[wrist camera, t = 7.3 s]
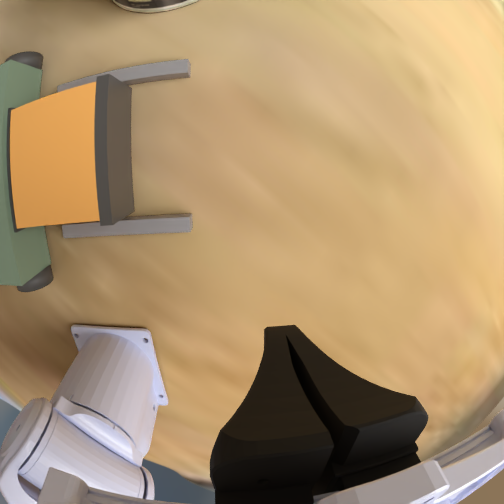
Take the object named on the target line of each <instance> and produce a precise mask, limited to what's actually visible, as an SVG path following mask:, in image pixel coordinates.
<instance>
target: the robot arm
mask: <svg viewBox="0 0 504 504" xmlns="http://www.w3.org/2000/svg"><path fill="white" fill-rule="evenodd" d="M71 332H72V335H73V338H74V341H75V343H76V346H77V348H78V351H79V353H78V354H77V356H76V358H75V359H74V361H73V362H72V364H71V366H70V367H69V369H68V371H67V372H66V374H65V376H64V377H63V379H62V381H61V383H60V384H59V386H58V388H57V390H56V391H55V393H54V395H53V397H52V399H51V400H50V402H49V401H48V400H47V399H46V398H40V399H32V400H31V401H30V402H29V403H28V404H27V405H26V406H25V407H24V408H23V409H22V411H21V412H20V413H19V415H18V416H17V418H16V419H15V421H14V422H13V424H12V425H11V427H10V429H9V431H8V433H7V434H6V437H5V439H4V441H3V444H2V447H1V449H0V491H1V493H2V495H3V496H4V498H5V500H6V501H7V503H8V504H185V503H173V502H164V501H155V500H154V483H153V479H152V476H151V474H150V473H149V471H148V470H147V469H146V468H144V467H143V466H141V465H142V460H143V457H144V456H145V455H146V454H147V452H148V450H149V448H150V444H151V439H152V434H153V429H154V424H155V419H156V414H157V410H158V405H167V404H168V398H167V394H166V391H165V387H164V384H163V380H162V377H161V373H160V369H159V365H158V362H157V358H156V354H155V349H154V345H153V341H152V337H151V333H150V331H149V330H147V329H144V328H119V327H102V326H88V325H72V327H71ZM77 334H78V335H79V336H78V335H77ZM144 338H146V339H148V340H145V339H144ZM160 394H161V395H160ZM427 421H428V415H427V413H426V411H425V409H424V408H423V406H422V405H421V403H420V402H419V401H418V399H417V398H416V397H414V396H410V395H406V394H402V393H398V392H395V391H392V390H389V389H386V388H383V387H380V386H378V385H376V384H373V383H371V382H369V381H367V380H365V379H363V378H361V377H359V376H357V375H355V374H353V373H352V372H350V371H348V370H347V369H345V368H344V367H342V366H341V365H339V364H338V363H336V362H335V361H334V360H332V359H331V358H330V357H328V356H327V355H326V354H325V353H324V352H322V351H321V350H320V349H319V348H318V347H317V346H316V345H315V344H314V343H313V342H312V341H311V340H310V339H308V338H307V337H306V336H305V334H304V333H303V332H302V331H301V330H300V329H299V328H298V327H297V326H296V325H288V326H275V327H267V328H265V329H264V352H263V357H262V360H261V363H260V367H259V370H258V372H257V375H256V377H255V380H254V382H253V384H252V386H251V388H250V390H249V392H248V394H247V396H246V397H245V399H244V401H243V402H242V404H241V405H240V406H239V408H238V409H237V411H236V412H235V414H234V415H233V416H232V418H231V419H230V420H229V421H228V422H227V423H226V425H225V426H224V427H223V428H222V429H221V430H220V432H219V435H218V437H217V440H216V442H215V445H214V447H213V450H212V454H211V459H210V478H211V480H212V483H213V486H214V489H215V504H456V503H458V502H459V501H461V500H462V499H464V498H465V497H467V496H468V495H469V494H471V493H472V492H474V491H475V490H477V489H478V488H479V487H481V486H482V485H483V484H485V483H486V482H487V481H488V480H490V479H491V478H492V477H494V476H495V475H496V474H497V473H498V472H499V471H501V470H502V469H503V468H504V408H503V409H502V410H500V411H499V412H498V413H497V414H496V415H495V416H494V418H493V419H492V420H491V422H490V423H489V425H488V426H486V427H485V428H483V429H481V430H480V431H478V432H477V433H475V434H473V435H472V436H470V437H468V438H467V439H465V440H463V441H462V442H460V443H458V444H456V445H454V446H453V447H451V448H449V449H447V450H445V451H443V452H441V453H439V454H437V455H435V456H433V457H431V458H429V459H427V460H425V461H422V462H421V461H420V459H419V458H418V456H417V454H416V452H417V451H418V446H417V445H416V443H415V441H416V440H417V438H418V437H419V435H420V434H421V432H422V431H423V429H424V428H425V426H426V424H427Z"/></svg>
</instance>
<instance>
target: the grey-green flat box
mask: <svg viewBox="0 0 504 504" xmlns="http://www.w3.org/2000/svg"><path fill="white" fill-rule="evenodd" d="M42 61H43V55H42V54H40V53H37V52H21V53H17V54H15V55H12V56H10V57H9V58H7V59H6V61H5V63H3V64H1V65H0V285H14V286H17V289H18V290H19V291H21V292H31V291H35V290H38V289H41V288H43V287H45V286H47V285H48V284H50V283H51V282H52V281H53V274H52V269H51V265H50V264H51V259H50V254H49V249H48V244H47V239H46V233H45V227H44V226H36V227H27V228H18V229H17V226H16V219H15V212H14V204H13V195H12V184H11V169H10V121H11V110H13V109H15V108H18V107H20V106H22V105H25V104H27V103H30V102H32V101H35V100H38V99H39V97H40V86H41V78H42V70H41V68H42ZM190 66H191V64H190V62H189V60H188V59H184V60H174V61H165V62H158V63H151V64H144V65H138V66H133V67H127V68H122V69H118V70H113V71H108V72H104V73H100V74H96V75H92V76H88V77H85V78H81V79H78V80H74V81H71V82H68V83H65V84H62V85H59V86H58V87H57V93H58V92H61V91H64V90H67V89H70V88H74V87H77V86H81V85H84V84H88V83H92V82H96V79H97V77H98V76H102V75H106V74H110V75H112V76H114V77H115V78H117V79H118V80H120V81H121V82H123V83H125V84H126V85H132V84H138V83H144V82H151V81H158V80H167V79H176V78H187V77H190ZM192 228H193V225H192V214H170V215H151V216H134V217H125V218H123V219H121V220H120V221H118V222H117V223H115V224H114V225H108V226H100V221H91V222H79V223H67V224H63V225H62V231H63V237H64V238H76V237H93V236H112V235H132V234H154V233H179V232H191V230H192Z"/></svg>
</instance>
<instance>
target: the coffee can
mask: <svg viewBox="0 0 504 504" xmlns="http://www.w3.org/2000/svg"><path fill="white" fill-rule="evenodd" d="M112 1H113V2H114V3H116V4H117V5H118V6H119V7H121V8H123V9H126V10H129V11H133V12H141V13H154V12H162V11H168V10H173V9H177V8H180V7H184V6H186V5H189V4H192V3H194V2H197V1H199V0H112Z"/></svg>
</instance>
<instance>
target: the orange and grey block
mask: <svg viewBox="0 0 504 504" xmlns="http://www.w3.org/2000/svg"><path fill="white" fill-rule="evenodd" d="M131 95H132V88H131V87H129V86H128V85H126V84H125V83H123V82H121V81H120V80H118V79H117V78H115V77H114V76H112V75H110V74H106V75H102V76H98V77H97V79H96V82H92V83H88V84H84V85H81V86H77V87H74V88H70V89H67V90H64V91H61V92H58V93H55V94H52V95H49V96H46V97H43V98H40V99H38V100H35V101H32V102H30V103H27V104H25V105H22V106H20V107H18V108H15V109H13V110H11V121H10V169H11V184H12V195H13V204H14V212H15V219H16V226H17V229H18V228H27V227H36V226H46V225H56V224H67V223H79V222H91V221H100V226H108V225H114V224H115V223H117V222H118V221H120V220H121V219H123V218H125V217H126V216H128V215H129V214H131V213H132V212H134V211H135V210H134V198H133V184H132V163H131Z"/></svg>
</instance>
